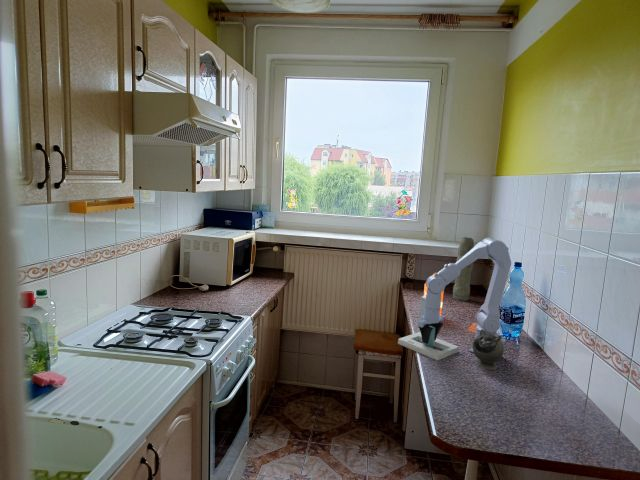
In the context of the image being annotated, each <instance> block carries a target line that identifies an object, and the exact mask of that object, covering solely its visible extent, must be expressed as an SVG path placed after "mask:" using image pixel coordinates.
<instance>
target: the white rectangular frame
mask: <svg viewBox="0 0 640 480" xmlns="http://www.w3.org/2000/svg"><path fill="white" fill-rule="evenodd" d="M397 344H398V345H400V346H403V347H405V348H407V349H410V350H412V351H414V352H417V353H418V354H421V355H424V356H425V357H428V358H431V359H434V360H436V361H439V360H442V359H445V358H448V357H450V356H452V355H454V354H457V353H458V352H459V351H460V350H459V348H460V346H457V345H455V344H452V343H449V342H447V341H445V340H442V339H439V338H437V337H436V340H435V341H434V347H435V348H437V349H440V351H439V350H437V349H434V348H433V349H432V348H430V347H427V346H425V344H422V336H421V332H420V331H418V332H414V333H412V334H409V335H405V336H403V337H400V338H398V341H397Z"/></svg>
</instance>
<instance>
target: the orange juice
mask: <svg viewBox="0 0 640 480" xmlns="http://www.w3.org/2000/svg"><path fill="white" fill-rule="evenodd" d="M431 276H435V275H434V273H433V274H432V275H431ZM426 293H427V286H426V284H425V283H424V289H423V296H426ZM444 293H445V290H444V291H443V292H442V294H441V306H440V315H442V309H443V301H444V300H443V299H444Z"/></svg>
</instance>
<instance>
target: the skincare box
mask: <svg viewBox="0 0 640 480" xmlns="http://www.w3.org/2000/svg"><path fill="white" fill-rule="evenodd" d="M425 300H426V296H424V295H422V296H420V302H419V311H418V317H417V318H418V319H417V322H418V321H420V320H421V319H422V318H421V316H423V315H424V310H425Z"/></svg>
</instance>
